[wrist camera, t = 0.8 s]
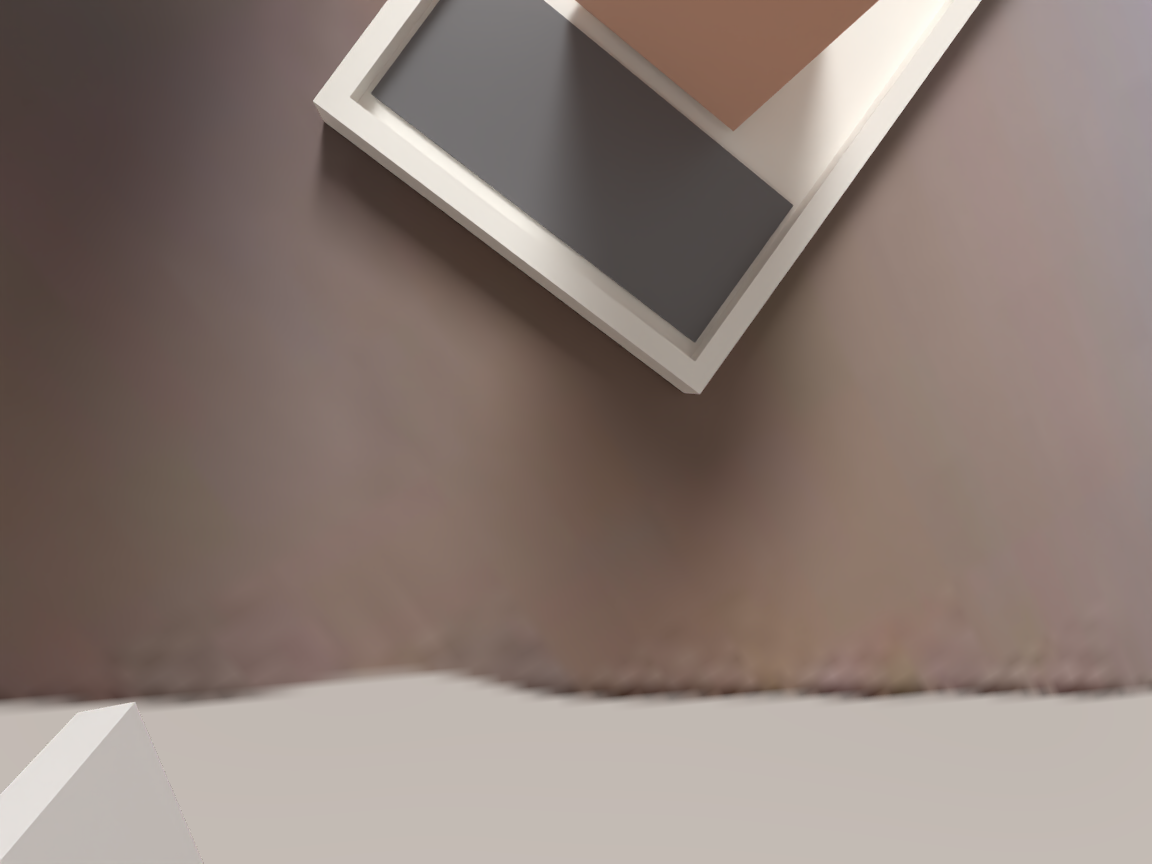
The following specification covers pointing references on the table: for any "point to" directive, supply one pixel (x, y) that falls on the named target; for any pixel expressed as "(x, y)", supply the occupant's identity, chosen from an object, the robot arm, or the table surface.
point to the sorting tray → (626, 156)
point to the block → (729, 43)
